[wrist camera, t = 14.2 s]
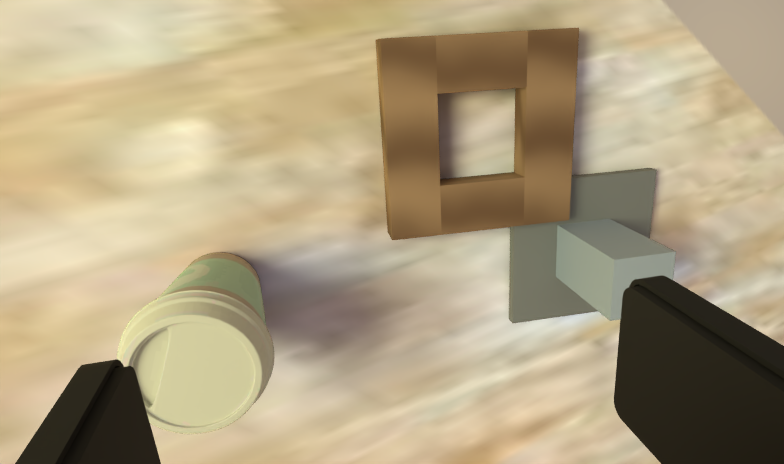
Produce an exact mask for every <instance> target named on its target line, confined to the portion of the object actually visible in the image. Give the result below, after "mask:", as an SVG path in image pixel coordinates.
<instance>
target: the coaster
mask: <svg viewBox="0 0 784 464" xmlns="http://www.w3.org/2000/svg"><path fill="white" fill-rule="evenodd" d="M655 180H656V170H655V169H652V168H645V169H635V170H625V171H615V172H605V173H595V174H585V175H575V176H571V195H570V215H569V220H566V221H558V222H549V223H540V224H531V225H522V226H514V227H510V290H509V319H510V321H511V322H512V323H518V322H525V321H532V320H539V319H546V318H553V317H560V316H567V315H574V314H581V313H588V312H595V311H597V310H596V309H595V308H594V307H592V306H591V305H590V304H589V303H588V302H586V301H585V300H584V299H583V298H581V297H580V296H579V295H578V294H577V293H575V292H574V291H573V290H572V289H570V288H569V287H568V286H567V285H565V284H564V283H563V282H562V281H561V280H559V279H558V278H557V277H556V255H557V226H558V225H562V224H570V223H578V222H586V221H594V220H602V219H611V220H613V221H615V222H617V223H619V224H621V225H623V226H625V227H627V228H629V229H631V230H633V231H635V232H637V233H639V234H641V235H643V236H645V237H647V238H649V239H650V229H651V219H652V209H653V199H654V190H655Z"/></svg>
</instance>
